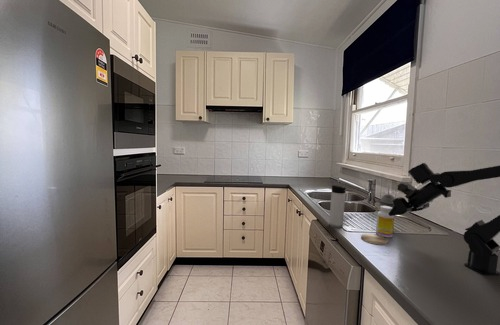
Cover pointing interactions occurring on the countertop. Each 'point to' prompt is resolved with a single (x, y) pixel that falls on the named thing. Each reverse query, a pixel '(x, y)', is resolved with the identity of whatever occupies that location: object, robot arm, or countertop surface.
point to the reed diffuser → (387, 200)
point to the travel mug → (337, 206)
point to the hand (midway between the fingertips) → (395, 213)
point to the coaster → (374, 239)
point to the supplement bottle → (385, 222)
